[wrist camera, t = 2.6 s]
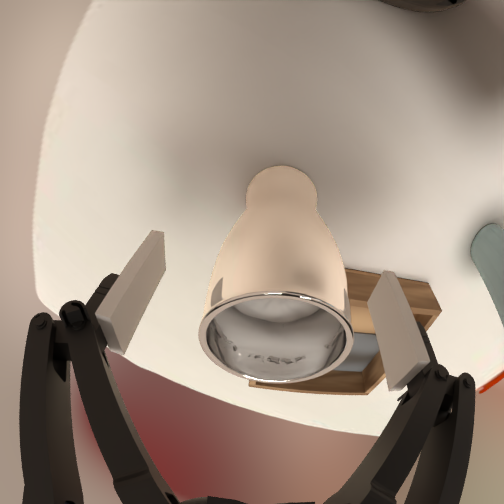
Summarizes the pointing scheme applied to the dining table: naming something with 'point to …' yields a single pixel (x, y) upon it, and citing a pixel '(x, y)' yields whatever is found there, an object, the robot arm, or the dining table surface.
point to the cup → (491, 262)
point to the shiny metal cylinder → (278, 287)
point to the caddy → (364, 339)
